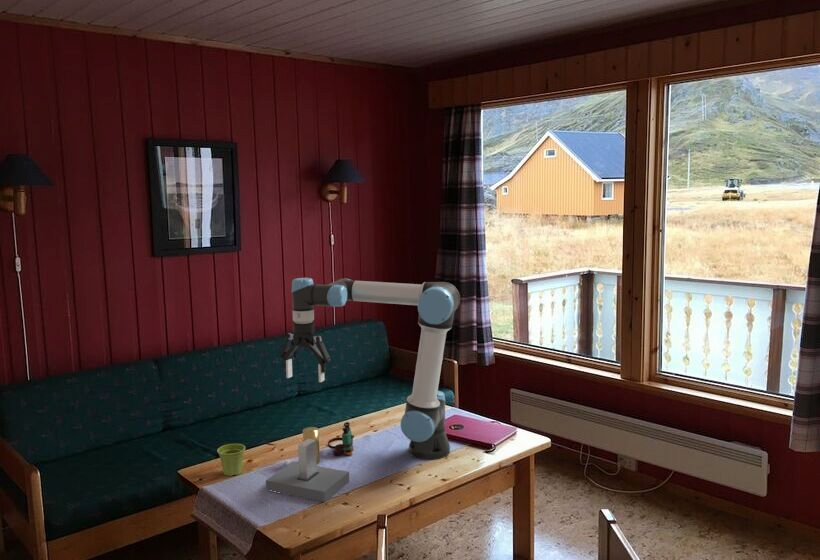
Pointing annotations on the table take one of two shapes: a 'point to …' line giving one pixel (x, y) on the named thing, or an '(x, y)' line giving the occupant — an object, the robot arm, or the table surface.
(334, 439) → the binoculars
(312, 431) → the brass peg
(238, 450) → the plant pot
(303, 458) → the aluminium bar
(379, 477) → the table surface
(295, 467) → the slot plate
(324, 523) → the table surface
